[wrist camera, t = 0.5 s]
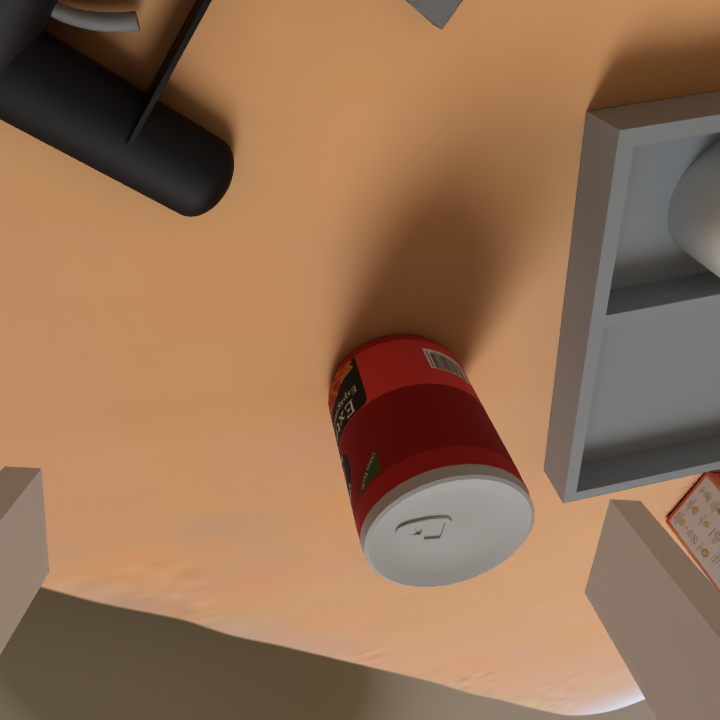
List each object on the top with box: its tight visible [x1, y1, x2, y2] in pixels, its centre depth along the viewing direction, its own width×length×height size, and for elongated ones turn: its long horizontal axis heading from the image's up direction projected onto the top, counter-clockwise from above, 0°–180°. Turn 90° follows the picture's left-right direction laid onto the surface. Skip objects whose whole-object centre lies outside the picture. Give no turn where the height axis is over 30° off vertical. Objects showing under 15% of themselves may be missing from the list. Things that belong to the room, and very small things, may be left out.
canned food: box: [328, 335, 535, 587], centre depth 33 cm, size 8×8×11 cm
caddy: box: [544, 91, 720, 503], centre depth 36 cm, size 24×16×3 cm, turn 5°
